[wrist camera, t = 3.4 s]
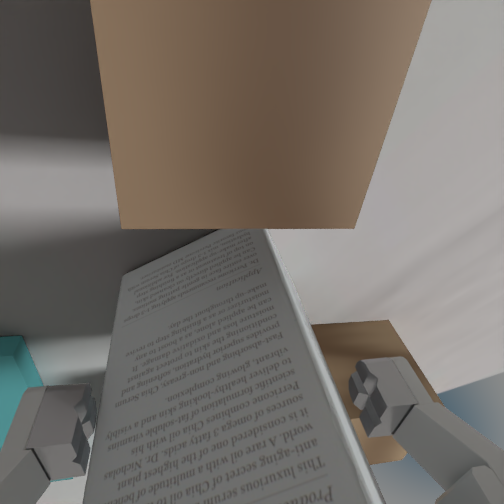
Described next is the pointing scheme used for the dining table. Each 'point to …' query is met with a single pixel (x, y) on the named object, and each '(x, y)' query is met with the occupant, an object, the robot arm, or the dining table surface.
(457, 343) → the dining table surface
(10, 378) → the teal mat
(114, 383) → the skincare box
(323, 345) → the light brown wooden cube
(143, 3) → the walnut block
